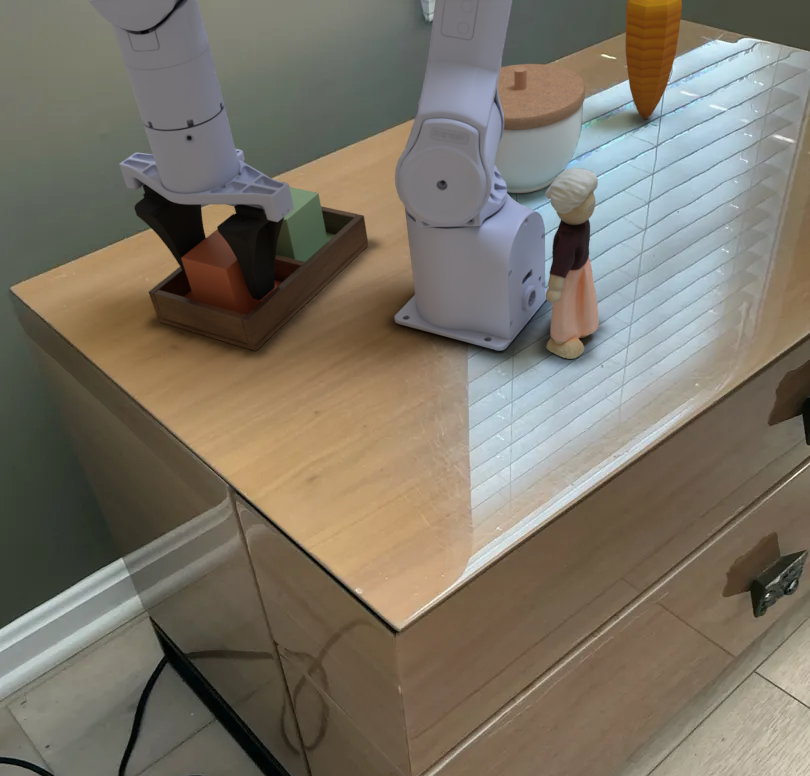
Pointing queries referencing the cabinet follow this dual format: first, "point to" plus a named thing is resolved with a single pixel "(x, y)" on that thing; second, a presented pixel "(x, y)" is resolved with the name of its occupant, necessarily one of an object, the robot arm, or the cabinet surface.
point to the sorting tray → (287, 298)
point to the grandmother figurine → (572, 263)
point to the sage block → (302, 227)
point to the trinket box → (538, 124)
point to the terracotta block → (217, 275)
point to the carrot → (650, 49)
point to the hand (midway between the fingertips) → (231, 284)
